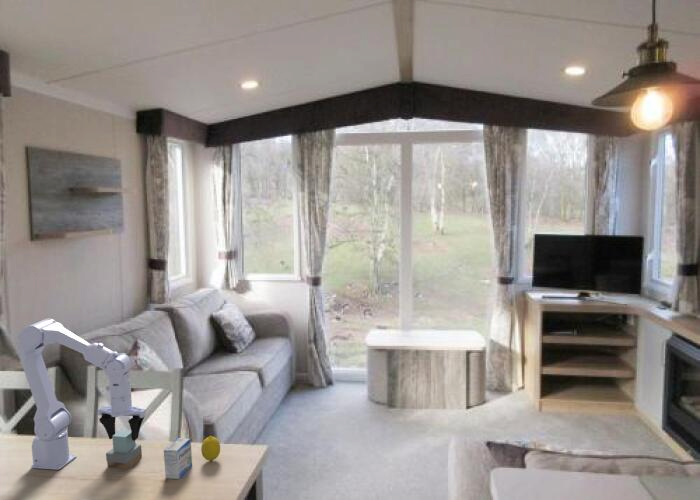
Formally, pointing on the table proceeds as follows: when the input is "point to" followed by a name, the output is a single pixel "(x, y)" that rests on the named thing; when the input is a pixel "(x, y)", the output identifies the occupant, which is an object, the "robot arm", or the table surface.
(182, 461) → the medicine box
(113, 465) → the walnut block
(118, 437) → the teal block
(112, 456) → the gray block
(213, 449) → the lemon
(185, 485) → the table surface
